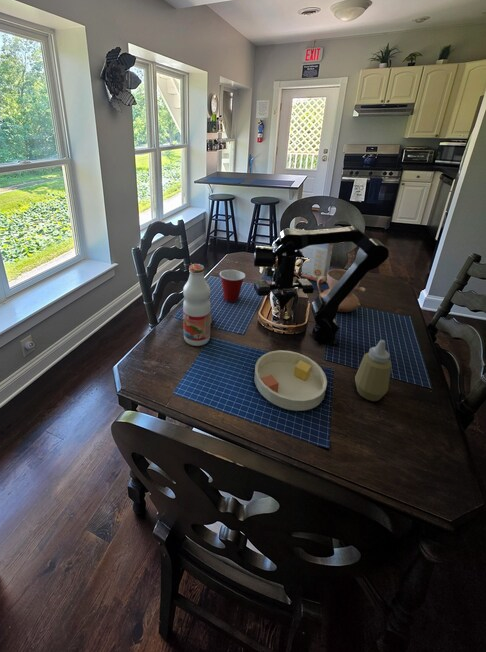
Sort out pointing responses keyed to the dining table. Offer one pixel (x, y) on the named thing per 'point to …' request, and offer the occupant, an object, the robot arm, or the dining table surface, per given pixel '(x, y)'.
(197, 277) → the fruit juice
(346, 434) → the dining table surface
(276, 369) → the bowl
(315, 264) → the cracker box
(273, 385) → the terracotta block
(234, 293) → the plastic cup
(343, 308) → the ceramic jug
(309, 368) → the mustard block
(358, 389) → the squeeze bottle
